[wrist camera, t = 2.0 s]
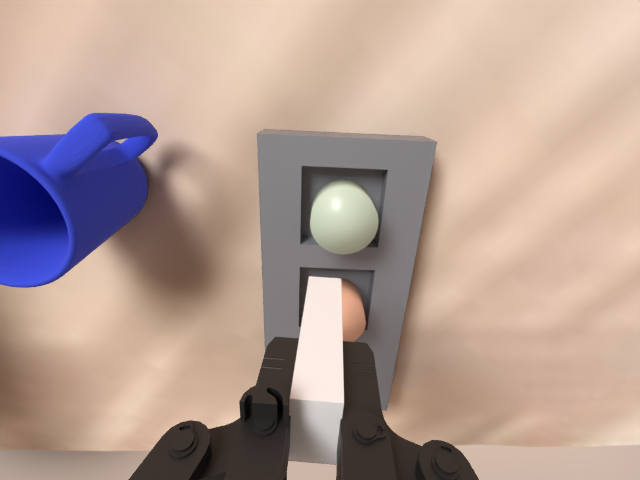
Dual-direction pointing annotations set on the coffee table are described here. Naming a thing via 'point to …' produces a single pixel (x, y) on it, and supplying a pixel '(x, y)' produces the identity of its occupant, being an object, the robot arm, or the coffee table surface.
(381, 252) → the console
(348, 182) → the button sage
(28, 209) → the mug
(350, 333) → the button terracotta
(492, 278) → the coffee table surface
